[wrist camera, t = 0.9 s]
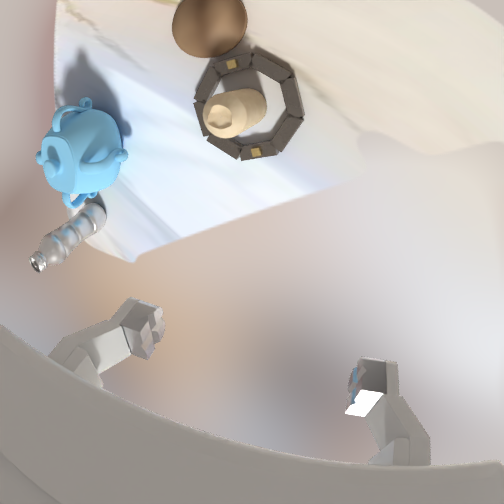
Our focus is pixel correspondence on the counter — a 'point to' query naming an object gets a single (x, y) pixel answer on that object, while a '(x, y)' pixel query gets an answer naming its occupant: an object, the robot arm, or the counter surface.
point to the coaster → (209, 26)
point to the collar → (289, 94)
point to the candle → (233, 112)
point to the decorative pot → (81, 152)
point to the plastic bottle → (68, 237)
